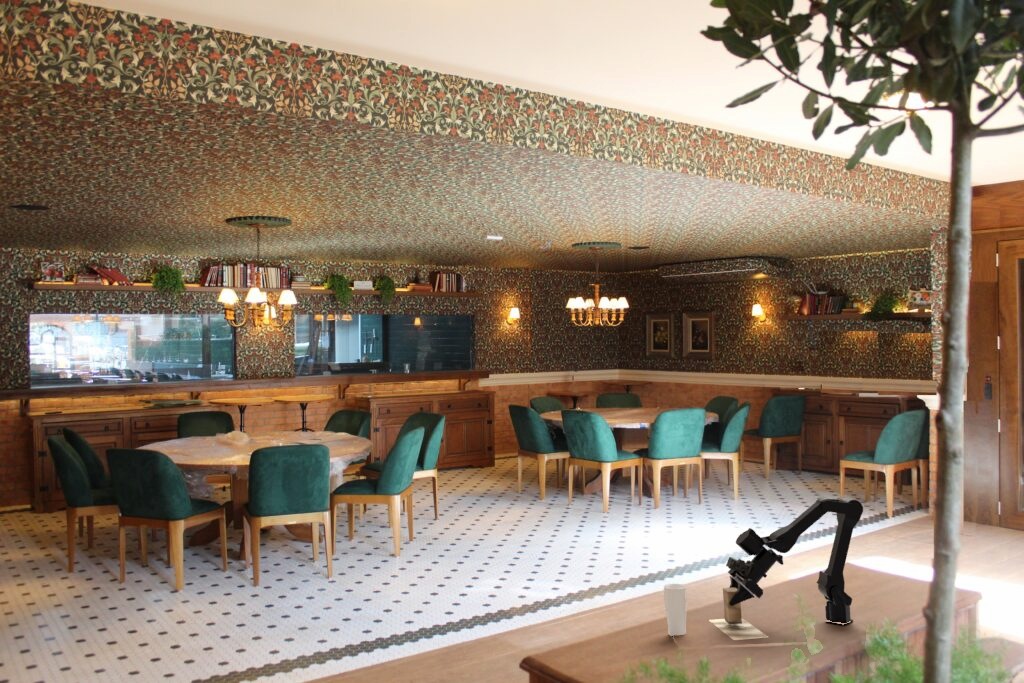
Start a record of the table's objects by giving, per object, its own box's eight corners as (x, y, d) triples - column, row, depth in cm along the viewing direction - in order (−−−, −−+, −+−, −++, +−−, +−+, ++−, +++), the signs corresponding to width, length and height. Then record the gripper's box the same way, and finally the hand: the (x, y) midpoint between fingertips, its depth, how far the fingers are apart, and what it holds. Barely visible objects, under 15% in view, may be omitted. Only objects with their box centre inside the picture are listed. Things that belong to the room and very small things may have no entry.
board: (708, 622, 275) (708, 619, 275) (740, 619, 276) (740, 617, 276) (733, 642, 253) (733, 640, 253) (769, 639, 254) (769, 637, 254)
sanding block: (737, 619, 270) (735, 587, 271) (741, 623, 265) (739, 591, 266) (724, 619, 270) (722, 588, 270) (729, 624, 265) (727, 591, 265)
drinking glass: (675, 640, 258) (672, 590, 259) (661, 634, 264) (659, 585, 265) (693, 636, 261) (690, 586, 262) (679, 630, 267) (676, 582, 268)
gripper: (732, 542, 278) (701, 578, 277) (750, 554, 259) (716, 592, 259) (757, 565, 278) (726, 601, 277) (777, 578, 259) (744, 617, 258)
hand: (727, 602), depth 268 cm, fingers closed on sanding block, 5 cm apart
